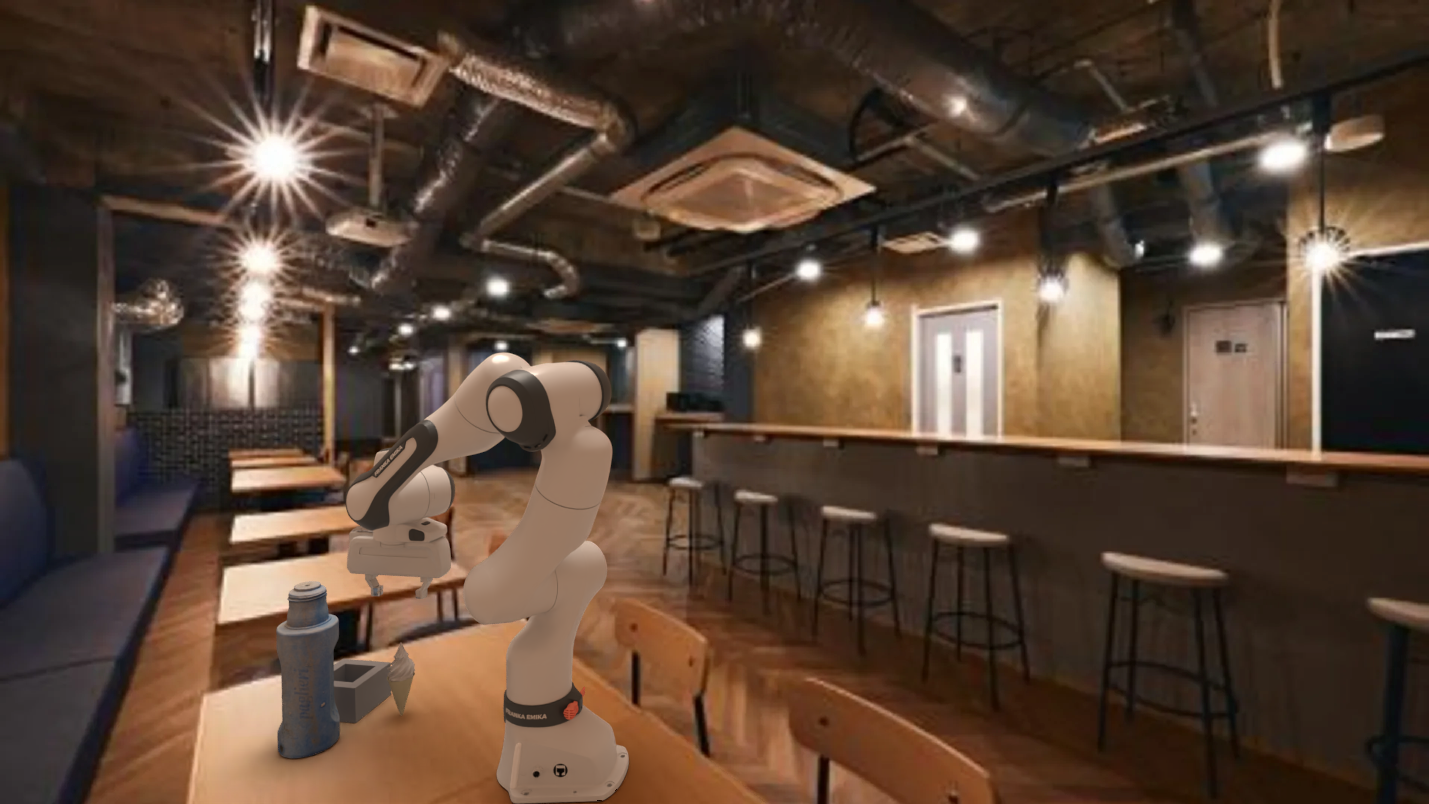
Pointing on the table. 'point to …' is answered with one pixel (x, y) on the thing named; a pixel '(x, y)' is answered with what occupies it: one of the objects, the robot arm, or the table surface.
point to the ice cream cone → (401, 677)
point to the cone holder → (359, 687)
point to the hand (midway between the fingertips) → (399, 596)
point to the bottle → (307, 673)
